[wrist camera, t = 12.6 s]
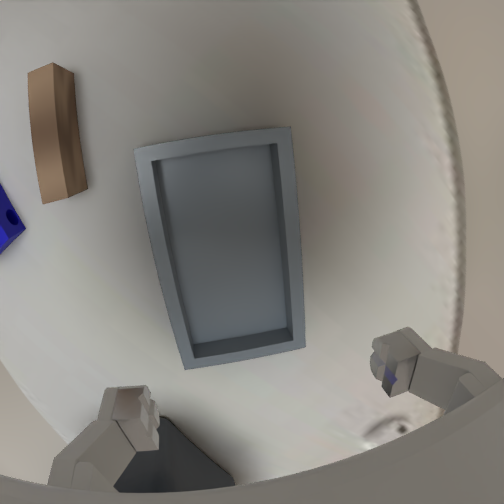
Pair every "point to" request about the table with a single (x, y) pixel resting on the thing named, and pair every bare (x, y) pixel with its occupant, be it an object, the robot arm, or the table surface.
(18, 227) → the blue curved block
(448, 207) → the table surface
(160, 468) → the storage bin
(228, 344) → the slate tray
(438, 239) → the table surface
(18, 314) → the table surface
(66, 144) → the walnut block
